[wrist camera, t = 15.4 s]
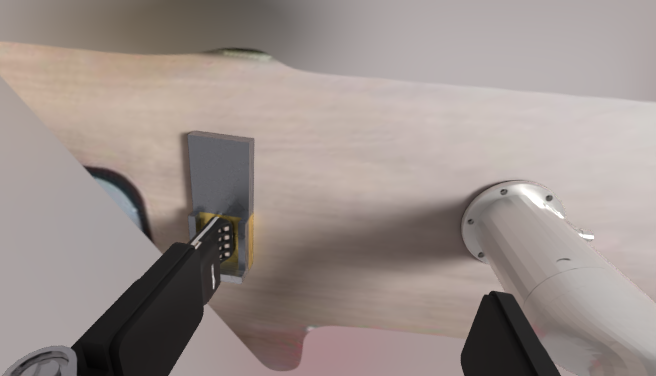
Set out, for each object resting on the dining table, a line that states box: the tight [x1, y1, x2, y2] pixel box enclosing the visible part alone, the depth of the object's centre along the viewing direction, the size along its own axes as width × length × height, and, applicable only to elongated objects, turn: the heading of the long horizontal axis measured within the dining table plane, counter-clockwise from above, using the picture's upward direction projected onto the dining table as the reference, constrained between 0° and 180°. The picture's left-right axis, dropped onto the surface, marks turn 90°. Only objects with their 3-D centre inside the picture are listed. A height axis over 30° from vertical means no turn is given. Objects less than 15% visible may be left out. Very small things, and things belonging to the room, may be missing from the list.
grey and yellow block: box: [188, 131, 254, 284], centre depth 45 cm, size 8×20×5 cm, turn 174°
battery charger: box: [187, 217, 234, 306], centre depth 42 cm, size 7×4×11 cm, turn 174°
